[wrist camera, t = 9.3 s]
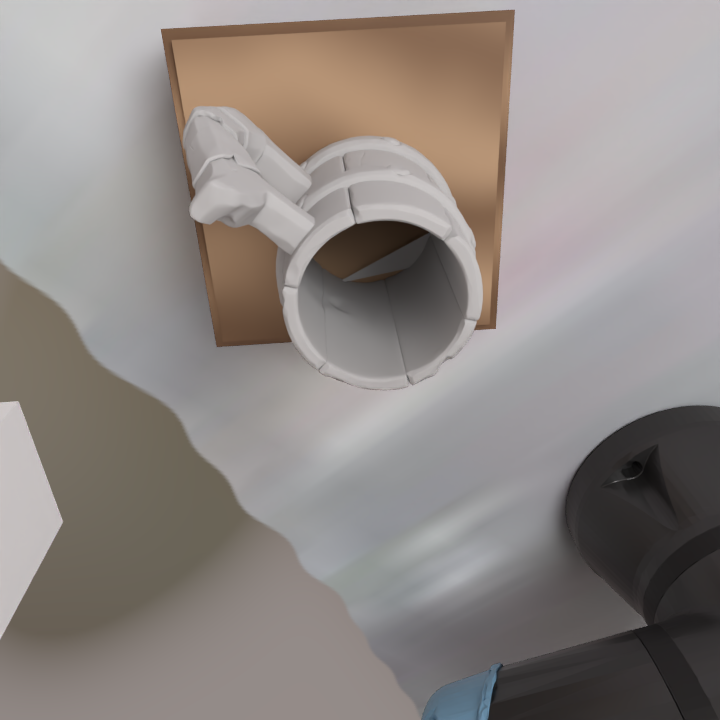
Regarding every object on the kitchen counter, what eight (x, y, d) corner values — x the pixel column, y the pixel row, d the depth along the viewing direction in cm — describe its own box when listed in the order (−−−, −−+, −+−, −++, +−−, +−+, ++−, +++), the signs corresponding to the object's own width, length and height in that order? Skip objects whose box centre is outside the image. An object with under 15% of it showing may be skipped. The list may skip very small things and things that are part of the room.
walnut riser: (470, 285, 37) (497, 331, 31) (232, 300, 36) (215, 349, 31) (481, 13, 30) (516, 9, 24) (190, 29, 30) (159, 29, 24)
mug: (377, 328, 31) (405, 486, 20) (166, 177, 27) (60, 273, 16) (485, 205, 28) (581, 312, 17) (267, 19, 24) (222, 10, 14)
